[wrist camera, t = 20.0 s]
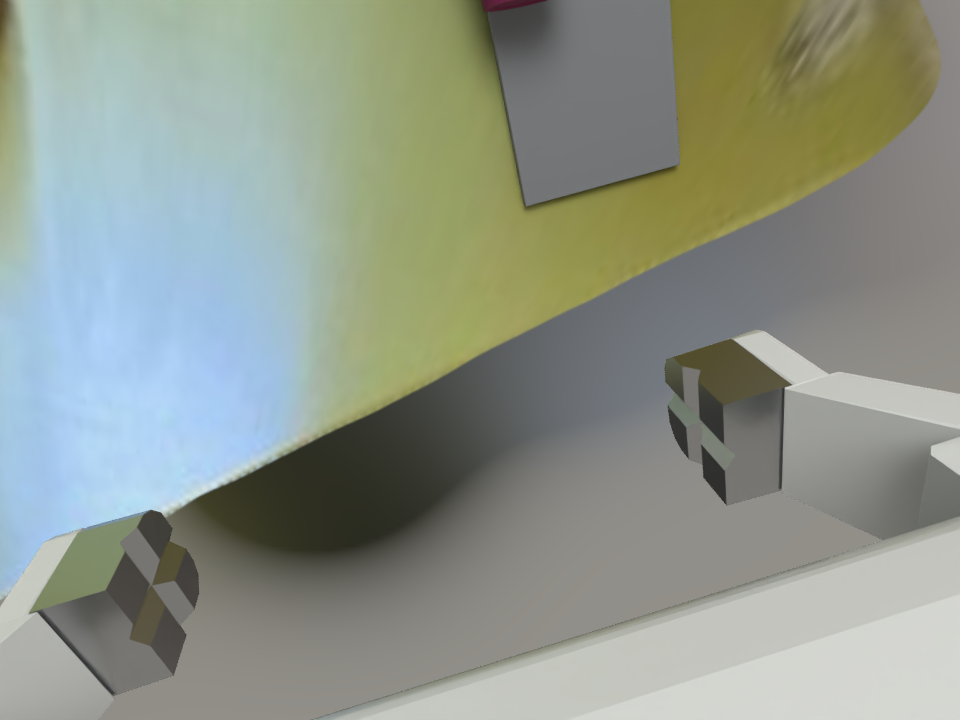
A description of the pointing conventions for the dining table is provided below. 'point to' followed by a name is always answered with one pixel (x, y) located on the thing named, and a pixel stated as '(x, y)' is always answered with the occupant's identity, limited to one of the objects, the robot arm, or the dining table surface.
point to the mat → (587, 92)
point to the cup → (506, 4)
